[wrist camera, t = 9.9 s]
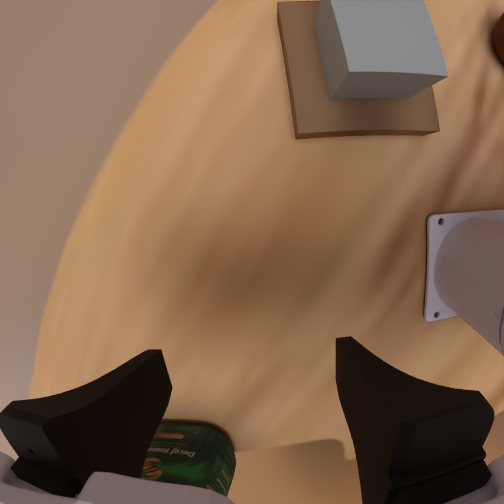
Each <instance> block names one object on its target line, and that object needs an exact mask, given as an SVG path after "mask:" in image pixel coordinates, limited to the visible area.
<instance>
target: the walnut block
mask: <svg viewBox="0 0 504 504" xmlns="http://www.w3.org/2000/svg"><path fill="white" fill-rule="evenodd" d="M319 4H320V1H289V2H277V21H278V26H279V32H280V38H281V43H282V49H283V55H284V61H285V68H286V74H287V81H288V87H289V94H290V101H291V108H292V115H293V123H294V131H295V139H305V138H319V137H337V136H364V135H421V136H423V135H427V134H431V133H435V132H439V131H440V128H439V122H438V115H437V109H436V104H435V98H434V93H433V88H432V85H431V86H430V87H428V88H426V89H424V90H422V91H421V92H419V93H417V94H415V95H414V96H412V97H410V98H354V99H333V100H330V97H329V91H328V86H327V81H326V76H325V71H324V67H323V62H322V57H321V53H320V49H319V44H318V40H317V36H316V32H315V28H314V25H315V21H316V17H317V13H318V8H319Z"/></svg>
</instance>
